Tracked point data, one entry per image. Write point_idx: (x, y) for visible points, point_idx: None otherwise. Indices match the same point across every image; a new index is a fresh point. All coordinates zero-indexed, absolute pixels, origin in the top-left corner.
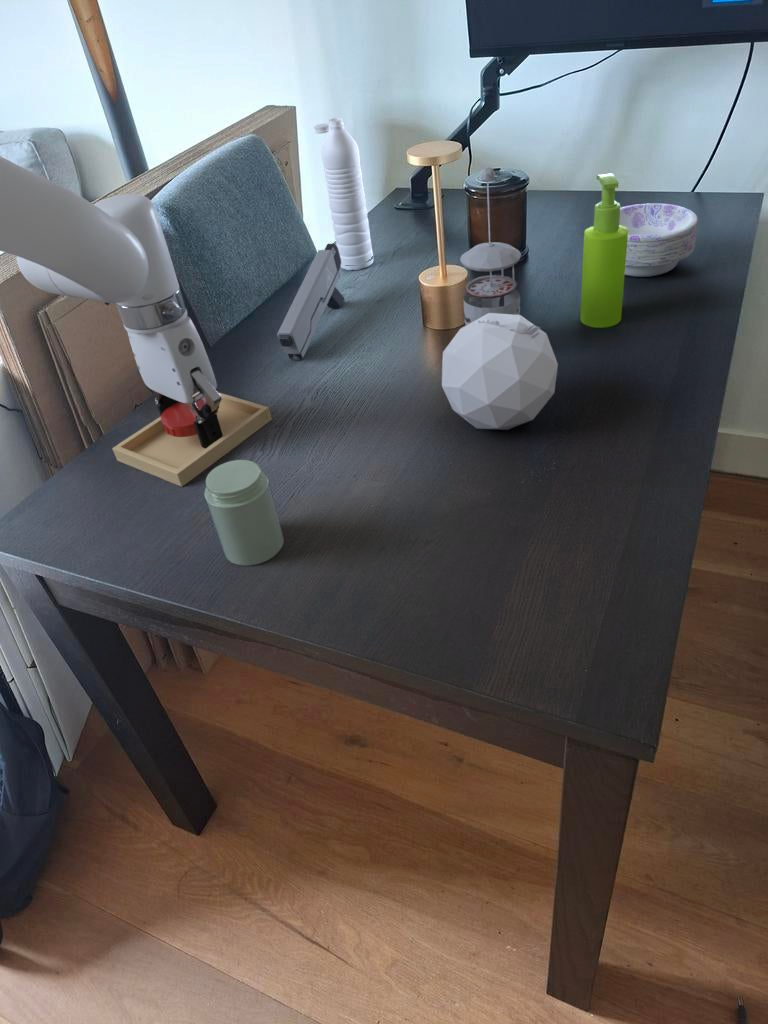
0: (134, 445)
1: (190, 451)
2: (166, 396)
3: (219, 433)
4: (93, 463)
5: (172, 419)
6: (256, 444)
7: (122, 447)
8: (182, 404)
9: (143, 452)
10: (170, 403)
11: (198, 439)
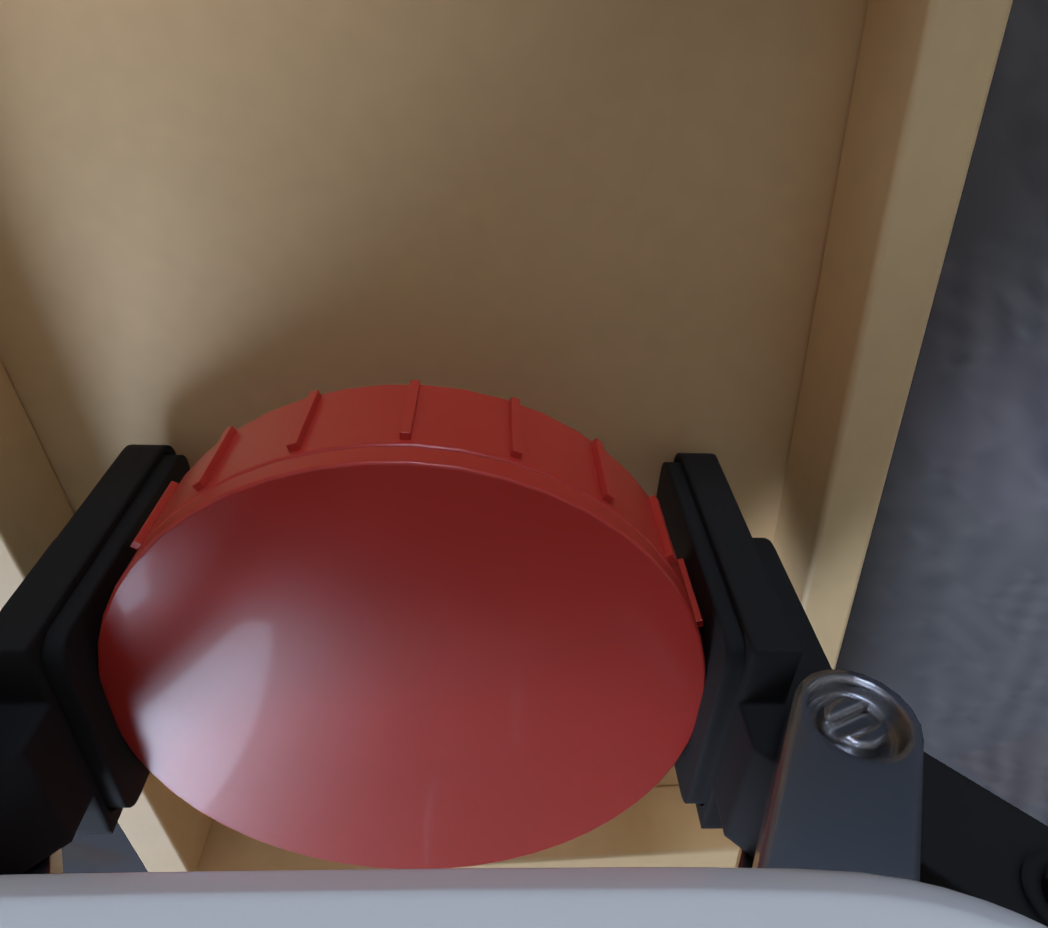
0: None
1: None
2: (21, 821)
3: (771, 544)
4: (110, 860)
5: (395, 818)
6: (998, 301)
7: (194, 861)
8: (198, 653)
9: None
10: (100, 738)
11: None
